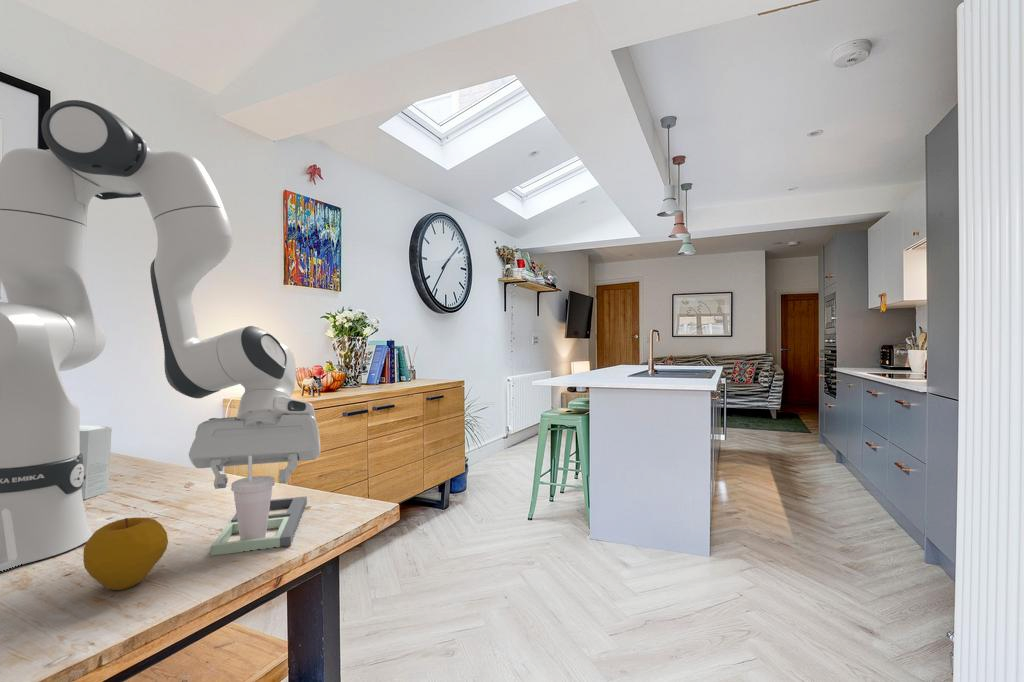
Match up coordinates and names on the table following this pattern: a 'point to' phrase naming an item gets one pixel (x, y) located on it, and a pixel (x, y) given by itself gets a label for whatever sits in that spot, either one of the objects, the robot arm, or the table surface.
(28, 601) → the table surface
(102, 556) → the apple
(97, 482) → the skincare box
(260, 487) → the smoothie
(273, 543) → the rail
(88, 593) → the table surface
